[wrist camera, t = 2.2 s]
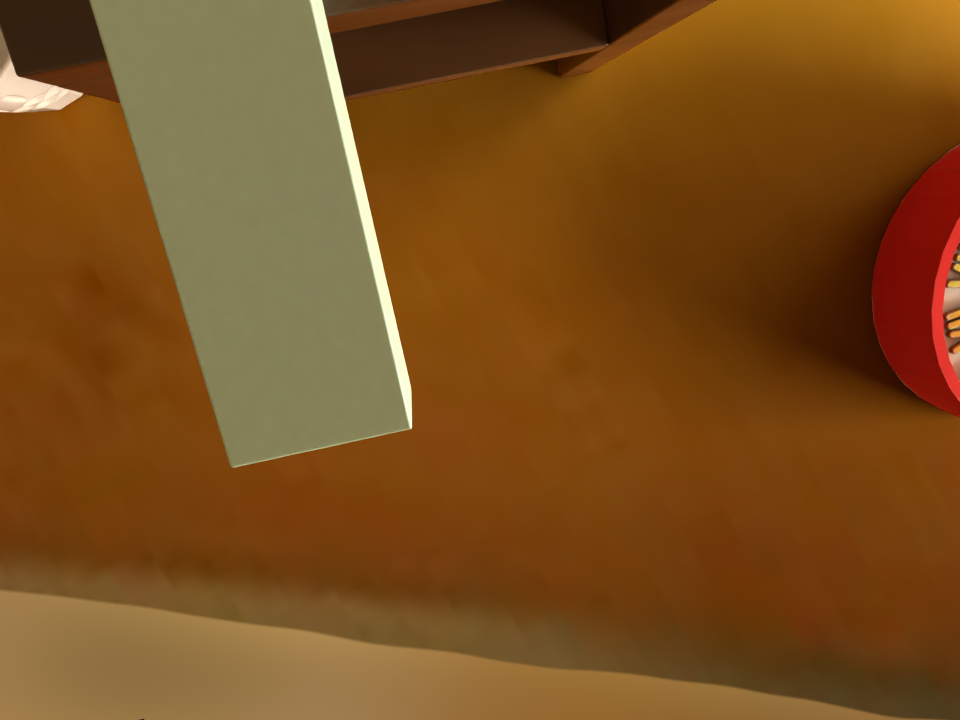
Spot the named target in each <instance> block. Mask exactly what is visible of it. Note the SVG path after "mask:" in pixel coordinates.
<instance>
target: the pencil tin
mask: <svg viewBox="0 0 960 720" xmlns="http://www.w3.org/2000/svg"><path fill="white" fill-rule="evenodd" d="M89 1H90V4H91V7H92V11H93V14H94V17H95V21H96V24H97V27H98V30H99V34H100V37H101V40H102V44H103V47H104V50H105V54H106V57H107V60H108V63H109V67H110V70H111V73H112V77H113V80H114V83H115V87H116V90H117V93H118V96H119V100H120V103H121V106H122V110H123V113H124V116H125V120H126V123H127V126H128V129H129V133H130V136H131V139H132V143H133V146H134V149H135V153H136V156H137V159H138V162H139V166H140V169H141V172H142V176H143V179H144V182H145V186H146V189H147V192H148V196H149V199H150V202H151V205H152V209H153V212H154V215H155V219H156V222H157V225H158V229H159V232H160V235H161V238H162V242H163V245H164V248H165V252H166V255H167V258H168V262H169V265H170V268H171V271H172V275H173V278H174V281H175V285H176V288H177V291H178V295H179V298H180V301H181V304H182V308H183V311H184V314H185V318H186V321H187V324H188V328H189V331H190V334H191V338H192V341H193V344H194V347H195V351H196V354H197V357H198V361H199V364H200V367H201V371H202V374H203V377H204V380H205V384H206V387H207V390H208V394H209V397H210V400H211V404H212V407H213V410H214V413H215V417H216V420H217V423H218V427H219V430H220V433H221V437H222V440H223V443H224V446H225V450H226V453H227V456H228V460H229V463H230V466H231V467H238V466H243V465H247V464H252V463H257V462H261V461H266V460H270V459H275V458H280V457H284V456H289V455H293V454H298V453H303V452H307V451H312V450H316V449H321V448H326V447H330V446H335V445H339V444H344V443H349V442H353V441H358V440H362V439H367V438H372V437H376V436H381V435H386V434H390V433H395V432H399V431H404V430H409V429H411V427H412V402H411V386H410V381H409V377H408V373H407V368H406V364H405V360H404V355H403V351H402V347H401V342H400V338H399V334H398V329H397V325H396V320H395V316H394V312H393V307H392V303H391V299H390V294H389V290H388V286H387V281H386V277H385V273H384V268H383V264H382V259H381V255H380V251H379V246H378V242H377V238H376V233H375V229H374V225H373V220H372V216H371V212H370V207H369V203H368V198H367V194H366V190H365V185H364V181H363V177H362V172H361V168H360V164H359V159H358V155H357V151H356V146H355V142H354V137H353V133H352V129H351V124H350V120H349V116H348V111H347V107H346V103H345V98H344V94H343V90H342V85H341V81H340V76H339V72H338V68H337V63H336V59H335V55H334V50H333V46H332V42H331V37H330V33H329V29H328V24H327V20H326V15H325V11H324V7H323V2H322V0H89Z"/></svg>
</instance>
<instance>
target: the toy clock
mask: <svg viewBox="0 0 960 720" xmlns="http://www.w3.org/2000/svg"><path fill="white" fill-rule="evenodd" d="M871 296H872V310H873V321H874V325H875V329H876V333H877V337H878V340H879V344H880V346H881V348H882V351H883V353H884V355H885V357H886V359H887V361H888V363H889V365H890V366H891V368H892V369H893V370H894V372H895V373H896V374H897V376H898V377H899V378H900V380H901V381H902V382H903V383H904V384H905V385H906V386H907V387H908V388H909V389H910V390H912V391H913V392H914V393H915V394H916V395H917V396H918V397H920V398H921V399H923V400H925V401H927V402H928V403H930V404H932V405H934V406H936V407H937V408H939V409H942V410H944V411H946V412H949V413H951V414H953V415H955V416H958V417H960V144H959V145H958V146H956V147H954V148H953V149H951V150H950V151H948V152H947V153H946V154H944V155H943V156H942V157H941V158H940V159H939V160H938V161H936V162H935V163H934V164H933V165H932V166H931V167H929V168H928V169H927V170H926V171H925V172H924V173H923V175H922V176H921V177H920V178H919V179H918V180H917V182H916V183H915V184H914V185H913V186H912V187H911V189H910V190H909V191H908V192H907V194H906V195H905V197H904V199H903V200H902V202H901V203H900V205H899V207H898V208H897V210H896V211H895V213H894V215H893V216H892V218H891V220H890V223H889V225H888V227H887V230H886V232H885V234H884V237H883V239H882V241H881V244H880V248H879V252H878V256H877V259H876V263H875V267H874V274H873V284H872V295H871Z"/></svg>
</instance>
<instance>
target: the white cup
mask: <svg viewBox="0 0 960 720" xmlns="http://www.w3.org/2000/svg"><path fill="white" fill-rule="evenodd" d="M82 95H83V93H80V92H76V91H72V90H68V89H64V88H60V87H58V86H54V85H50V84H46V83H42V82H38V81H34V80H30V79H26V78H22V77H18V76H17V75H16V73H15V70H14V67H13V64H12V61H11V58H10V55H9V52H8V49H7V46H6V43H5V40H4V37H3V34H2V31H1V28H0V112H40V111H52V110H60V109H62V108H64V107H65V106H67V105H68V104H70V103H71V102H73V101H74V100H76V99H78V98H79V97H81V96H82Z"/></svg>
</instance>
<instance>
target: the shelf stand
mask: <svg viewBox="0 0 960 720" xmlns="http://www.w3.org/2000/svg"><path fill="white" fill-rule="evenodd" d="M715 1H716V0H322V2H323V7H324V11H325V15H326V20H327V24H328V29H329V33H330V37H331V42H332V46H333V50H334V55H335V59H336V63H337V68H338V72H339V76H340V81H341V85H342V90H343V94H344V98H345V101H346V100H351V99H356V98H362V97H367V96H372V95H377V94H382V93H387V92H392V91H397V90H402V89H407V88H412V87H417V86H422V85H427V84H432V83H437V82H442V81H448V80H453V79H458V78H463V77H468V76H473V75H478V74H483V73H488V72H493V71H498V70H503V69H508V68H513V67H518V66H523V65H528V64H534V63H539V62H544V61H549V60H554V59H556V62H557V68H558V74H559V78H562V77H567V76H573V75H578V74H583V73H588V72H591V71H593V70H595V69H596V68H598V67H600V66H602V65H603V64H605V63H607V62H609V61H611V60H612V59H614V58H616V57H618V56H619V55H621V54H623V53H625V52H626V51H628V50H630V49H632V48H633V47H635V46H637V45H639V44H641V43H642V42H644V41H646V40H648V39H649V38H651V37H653V36H655V35H656V34H658V33H660V32H662V31H663V30H665V29H667V28H669V27H670V26H672V25H674V24H676V23H678V22H679V21H681V20H683V19H685V18H686V17H688V16H690V15H692V14H693V13H695V12H697V11H699V10H700V9H702V8H704V7H706V6H708V5H709V4H711V3H713V2H715ZM0 28H1V31H2V34H3V37H4V40H5V43H6V46H7V49H8V52H9V55H10V58H11V61H12V64H13V67H14V70H15V73H16V75H17V76H18V77H22V78H26V79H30V80H34V81H38V82H42V83H46V84H50V85H54V86H58V87H60V88H64V89H68V90H72V91H76V92H80V93H84V94H88V95H92V96H96V97H100V98H104V99H108V100H112V101H116V102H120V100H119V96H118V93H117V90H116V87H115V83H114V80H113V77H112V73H111V70H110V67H109V63H108V60H107V57H106V54H105V50H104V47H103V44H102V40H101V37H100V34H99V30H98V27H97V24H96V21H95V17H94V14H93V11H92V7H91V4H90V1H89V0H0Z"/></svg>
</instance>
